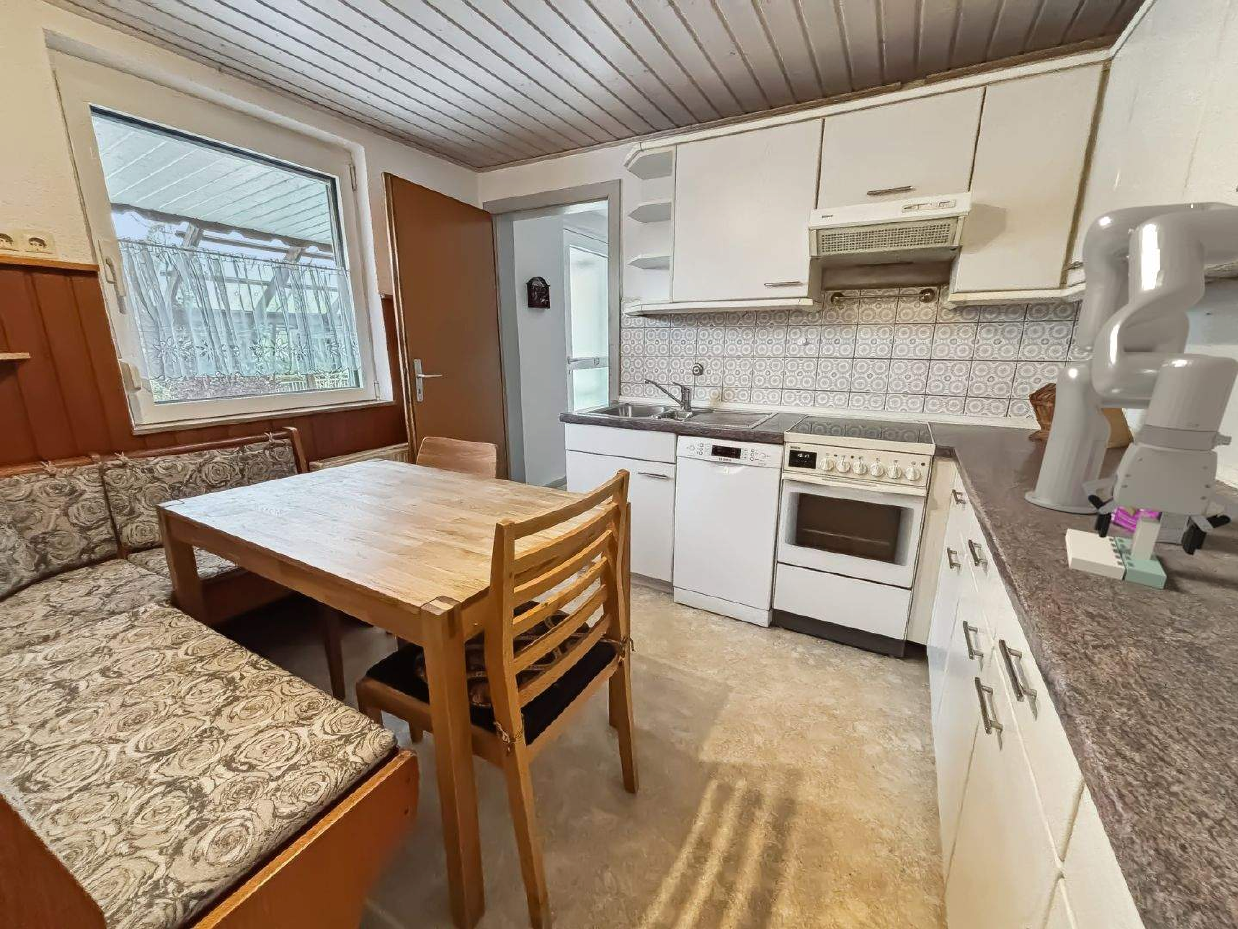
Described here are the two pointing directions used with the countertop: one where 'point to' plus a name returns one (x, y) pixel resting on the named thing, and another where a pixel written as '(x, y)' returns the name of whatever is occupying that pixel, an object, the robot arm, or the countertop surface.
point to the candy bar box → (1170, 523)
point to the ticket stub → (1142, 554)
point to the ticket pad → (1094, 554)
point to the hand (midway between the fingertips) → (1142, 543)
